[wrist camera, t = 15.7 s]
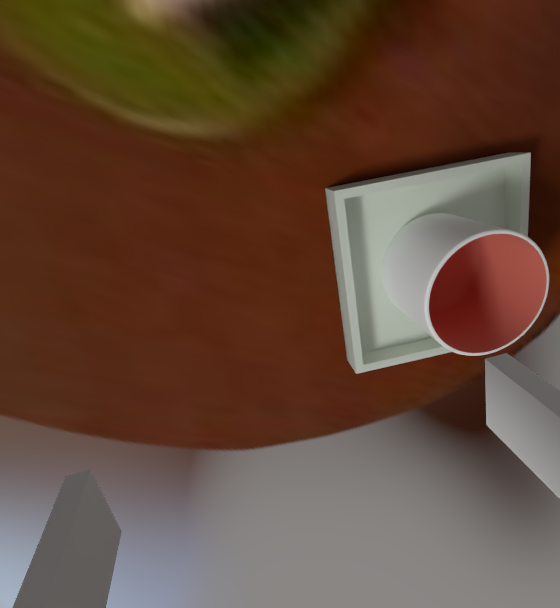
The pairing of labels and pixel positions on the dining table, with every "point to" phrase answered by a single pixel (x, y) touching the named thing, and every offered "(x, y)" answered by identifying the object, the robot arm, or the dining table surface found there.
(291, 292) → the dining table surface
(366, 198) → the tray
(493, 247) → the cup
